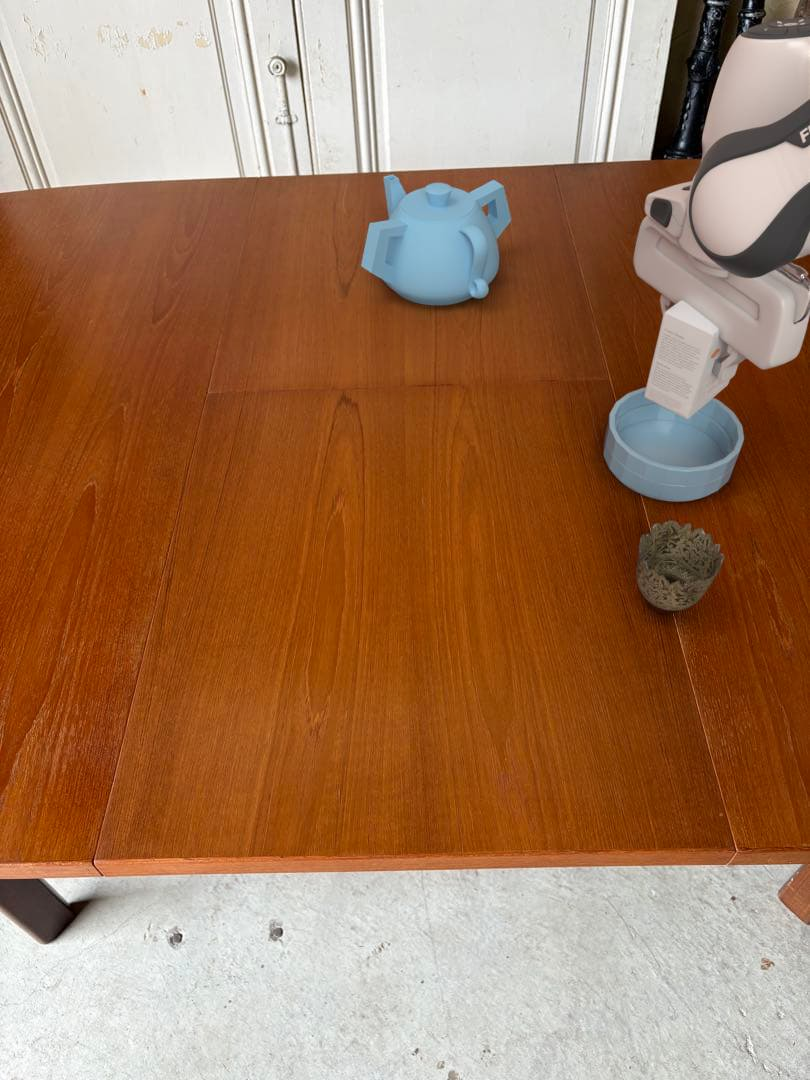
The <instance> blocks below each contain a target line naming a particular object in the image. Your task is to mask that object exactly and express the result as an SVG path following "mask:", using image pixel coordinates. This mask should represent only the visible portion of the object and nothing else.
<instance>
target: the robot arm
mask: <svg viewBox="0 0 810 1080" xmlns="http://www.w3.org/2000/svg"><path fill="white" fill-rule="evenodd" d="M701 147H702V149H701V150H702V156H701V160H700V164H699V166H698V169H697V171H696V173H695V174H694V176H693V178H692V180H691V181H686V182H682V183H678V184H674V185H671V186H667V187H664V188H661V189H658V190H655V191H652V192H651V193H648V194H647V195H646V198H645V201H644V214H646V216H645V217H644V218H643V219H642V221H641V223H640V226H639V229H638V233H637V237H636V242H635V248H634V252H633V260H632V263H633V267H634V271H635V274H636V275H637V277H638V278H639V279H641V280H642V281H644V282H645V283H646V284H648V285H649V286H651V288H653V289H654V290H655V291H657V292H658V293H659V294H661V295H660V298H659V303H660V309H661V314H662V315H663V314H664V312H665V311H667V310H668V309H670V308H671V307H672V306H674V305H675V304H676V303H678V302H679V301H680V300H682V301H684V302H686V303H687V304H688V305H690V306H691V307H693V308H694V309H695V310H696V311H698V312H699V313H700V314H702V315H703V316H704V317H705V318H707V319H708V320H709V321H710V322H712V323H713V324H714V325H715V326H716V327H717V328H718V329H719V330H720V331H719V338H720V339H722V340H723V341H724V342H726V343H727V344H728V348H727V352H728V353H729V354H731V355H727V356H724V357H723V358H719V359H716V360H715V362H714V365H713V367H714V368H713V369H712V371H711V372H712V373H713V374H714V375H715V376H716V377H717V378H719V379H720V380H721V381H725V380H728V379H730V380H731V379H732V378H734V376H736V373H737V370H738V367H739V364H740V363H742V362H743V361H745V360H746V359H747V360H748V361H749V362H751V364H753V365H755V366H756V367H757V368H759V369H760V370H770V369H773V368H777V367H780V366H782V365H784V364H787V363H789V362H791V361H793V360H795V359H796V358H797V357H798V355H799V354H800V351H801V349H802V346H803V343H804V340H805V336H806V332H807V329H808V324H809V320H810V278H809V272H808V271H807V270H806V269H805V268H804V267H802V266H800V265H798V264H795V263H793V261H795V260H799V259H801V258H803V257H806V256H809V255H810V16H809V17H808V16H799V17H797V16H795V17H790V18H779V19H774V20H770V21H769V20H768V21H765V22H762V23H758V24H756V25H753V26H751V27H749V28H747V29H746V30H744V31H743V32H741V33H740V34H739V35H738V36H737V37H736V38H735V40H734V41H733V43H732V44H731V46H730V48H729V50H728V51H727V54H726V56H725V58H724V61H723V63H722V65H721V68H720V71H719V74H718V76H717V80H716V83H715V86H714V89H713V93H712V96H711V100H710V103H709V107H708V110H707V115H706V118H705V123H704V127H703V131H702V137H701Z"/></svg>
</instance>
